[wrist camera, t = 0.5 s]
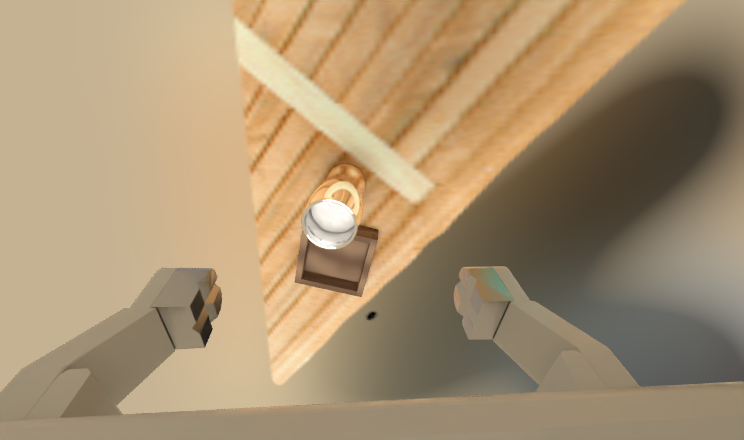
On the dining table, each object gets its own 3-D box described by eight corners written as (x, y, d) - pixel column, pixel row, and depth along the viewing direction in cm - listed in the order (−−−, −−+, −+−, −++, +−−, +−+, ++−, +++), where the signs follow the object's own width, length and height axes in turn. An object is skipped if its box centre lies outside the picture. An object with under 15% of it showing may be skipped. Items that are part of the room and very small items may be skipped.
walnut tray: (308, 213, 52) (303, 223, 49) (378, 229, 52) (377, 240, 49) (299, 270, 57) (294, 282, 54) (363, 284, 58) (361, 297, 55)
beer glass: (320, 196, 50) (295, 243, 37) (328, 155, 47) (304, 190, 34) (362, 207, 51) (351, 257, 37) (372, 167, 48) (365, 206, 34)
